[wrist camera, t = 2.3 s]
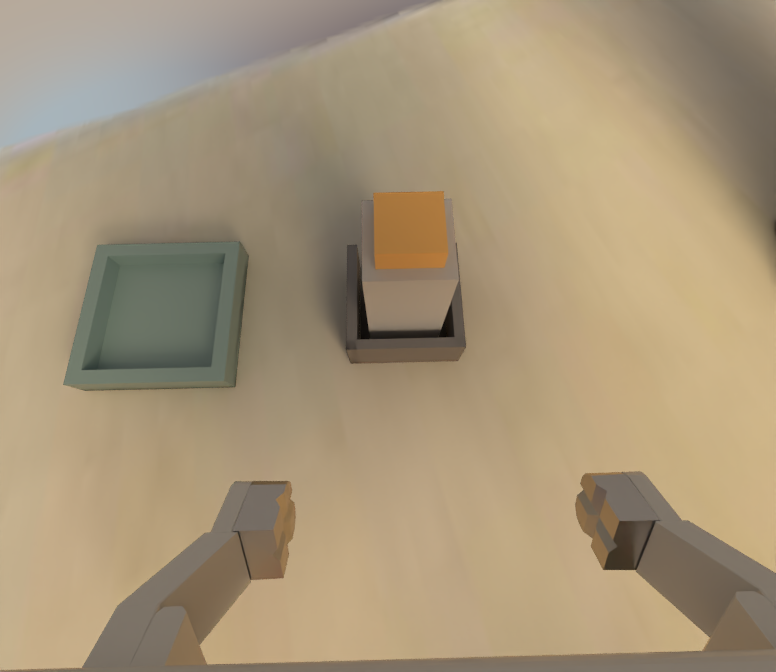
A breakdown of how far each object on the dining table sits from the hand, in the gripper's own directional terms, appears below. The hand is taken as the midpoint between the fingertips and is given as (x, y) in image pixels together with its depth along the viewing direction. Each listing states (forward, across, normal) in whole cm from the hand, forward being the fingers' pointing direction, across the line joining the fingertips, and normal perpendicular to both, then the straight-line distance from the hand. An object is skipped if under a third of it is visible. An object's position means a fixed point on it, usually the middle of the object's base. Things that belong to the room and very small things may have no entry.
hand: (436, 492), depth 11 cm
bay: (+21, 0, +3) cm, 21 cm away
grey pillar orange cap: (+21, 0, +3) cm, 21 cm away
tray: (+21, +18, +3) cm, 28 cm away
